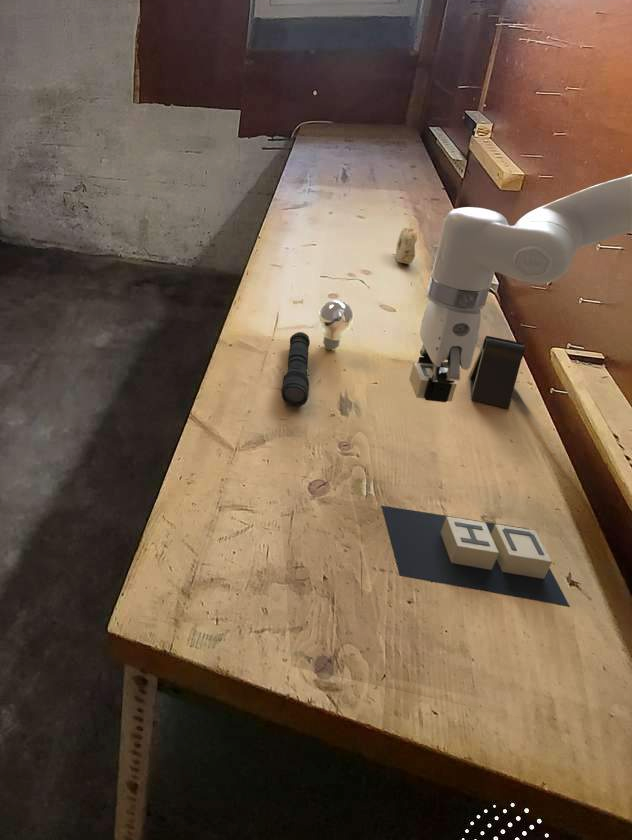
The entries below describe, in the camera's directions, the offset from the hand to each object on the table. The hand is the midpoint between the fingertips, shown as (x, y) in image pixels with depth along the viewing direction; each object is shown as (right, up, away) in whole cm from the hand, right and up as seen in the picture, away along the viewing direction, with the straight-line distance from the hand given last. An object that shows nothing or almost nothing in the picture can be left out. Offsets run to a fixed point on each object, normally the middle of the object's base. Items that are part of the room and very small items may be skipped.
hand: (430, 388), depth 91 cm
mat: (-2, -21, -12) cm, 24 cm away
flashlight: (-13, -3, +26) cm, 29 cm away
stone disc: (+36, +22, +73) cm, 84 cm away
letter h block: (-2, -21, -12) cm, 24 cm away
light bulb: (-2, +2, +34) cm, 35 cm away
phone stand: (+23, -5, +19) cm, 31 cm away
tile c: (+4, -21, -13) cm, 25 cm away
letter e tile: (0, 0, 0) cm, 0 cm away
